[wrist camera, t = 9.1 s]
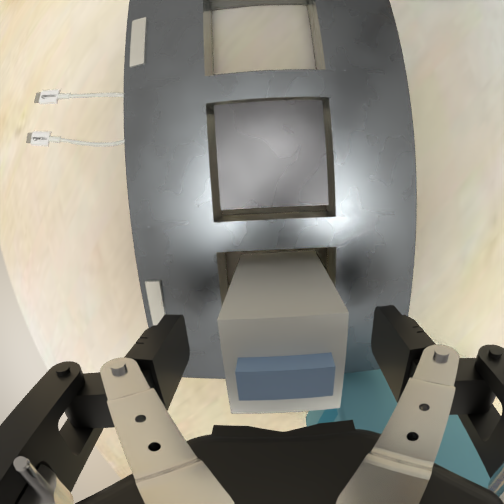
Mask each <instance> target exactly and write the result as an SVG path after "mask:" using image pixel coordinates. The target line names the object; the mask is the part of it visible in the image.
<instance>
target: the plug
mask: <svg viewBox="0 0 504 504" xmlns="http://www.w3.org/2000/svg"><path fill="white" fill-rule="evenodd" d="M348 319H349V312H348V310H347V308H346V306H345V304H344V302H343V301H342V299H341V297H340V295H339V293H338V291H337V290H336V288H335V286H334V284H333V282H332V280H331V279H330V277H329V275H328V273H327V272H326V270H325V268H324V266H323V264H322V263H321V261H320V259H319V257H318V256H317V254H316V252H315V250H302V251H285V252H268V253H250V254H241V257H240V259H239V262H238V265H237V267H236V270H235V273H234V275H233V278H232V281H231V284H230V286H229V289H228V292H227V294H226V297H225V300H224V303H223V305H222V308H221V311H220V313H219V316H218V319H217V322H218V330H219V337H220V344H221V351H222V358H223V365H224V371H225V378H226V384H227V390H228V397H229V403H230V409H231V413H284V412H301V411H313V410H324V409H334V408H340V404H341V397H342V388H343V379H344V370H345V359H346V348H347V334H348Z"/></svg>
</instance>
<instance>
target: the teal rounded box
mask: <svg viewBox="0 0 504 504" xmlns="http://www.w3.org/2000/svg"><path fill="white" fill-rule="evenodd" d="M397 404H398V403H397V402H396V400H395V398H394V395H393V393H392V391H391V389H390V387H389V385H388V383H387V381H386V379H385V377H384V375H383V373H382V371H381V369H377V370H369V371H362V372H353V373H344V379H343V388H342V397H341V404H340V408H334V409H324V410H313V411H309V412H308V414H307V416H306V425H307V426H311V425H315V424H318V423H327V422H337V421H345V420H353V422H354V426H355V429H363V430H369V431H373V432H377V433H380V434H382V432H383V430H384V428H385V427H386V425H387V423H388V421H389V419H390V417H391V415H392V413H393V412H394V410H395V408H396V406H397ZM434 463H436V464H438V465H440V466H442V467H444V468H446V469H447V470H449V471H451V472H453V473H455V474H457V475H460V476H462V477H464V478H466V479H468V480H470V481H472V482H474V483H476V484H478V485H481V486H483V487H485V488H487V489H488V484H489V481H490V477H489V475H488V473H487V471H486V469H485V467H484V465H483V462H482V460H481V458H480V456H479V454H478V452H477V450H476V449H475V447H474V445H473V443H472V441H471V439H470V437H469V435H468V433H467V431H466V430H465V428H464V426H463V424H462V422H461V420H460V419H459V417H458V415H449V417H448V421H447V424H446V428H445V431H444V434H443V438H442V441H441V444H440V447H439V450H438V453H437V456H436V458H435V461H434Z"/></svg>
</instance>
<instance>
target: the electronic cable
mask: <svg viewBox="0 0 504 504" xmlns="http://www.w3.org/2000/svg"><path fill="white" fill-rule="evenodd" d="M60 91H61V89H52V90H43V91H42V92H39V93H36V97H35V101H34V103H39V104H57V103H58V99H69V98H87V97H124V93H90V94H71V93H60ZM49 142H57V143H60V142H66V143H72V144H78V145H86V146H115V145H120V144H124V143H125V141H124V139H123V140H120V141H115V142H86V141H77V140H71V139H65V138H61V137H59V136H51V131H33V133H28V135H27V141H26V143H31V145H33V146H49Z"/></svg>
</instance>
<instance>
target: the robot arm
mask: <svg viewBox="0 0 504 504" xmlns="http://www.w3.org/2000/svg"><path fill="white" fill-rule="evenodd" d="M371 349H372V353H373V355H374V357H375V359H376V361H377V363H378V365H379V367H380V369H381V371H382V373H383V375H384V377H385V379H386V381H387V383H388V385H389V387H390V389H391V391H392V393H393V395H394V398H395V400H396V402H397V403H398V404H397V406H396V408H395V410H394V412H393V413H392V415H391V417H390V419H389V421H388V423H387V425H386V427H385V428H384V430H383V432H382V434H380V433H377V432H373V431H369V430H363V429H355V426H354V422H353V420H345V421H337V422H327V423H318V424H315V425H311V426H307V427H303V428H299V429H295V430H291V431H286V432H280V431H273V430H267V429H261V428H255V427H250V426H223V425H214V427H213V431H212V434H211V435H205V436H200V437H197V438H194V439H191V440H188V441H186V440H185V439H184V437H183V436H182V434H181V433H180V431H179V430H178V428H177V426H176V425H175V423H174V422H173V420H172V418H171V417H170V415H169V413H168V412H167V410H168V408H169V406H170V403H171V401H172V399H173V396H174V394H175V392H176V389H177V387H178V385H179V382H180V380H181V378H182V375H183V373H184V371H185V368H186V366H187V364H188V361H189V357H190V347H189V342H188V336H187V330H186V324H185V319H184V316H183V315H174V314H165V315H164V316H163V318H162V319H161V320H160V322H159V323H158V324H157V325H153V326H152V327H150V328H148V329H147V330H145V331H144V333H143V334H142V335H141V336H140V338H139V339H138V340H137V342H136V344H134V346H133V347H132V348H131V350H130V351H129V352H128V353H127V355H126V356H125V357H124V358H116V359H113V360H110V361H108V362H106V363H105V364H104V365H103V366H102V367H101V369H100V372H99V373H86V374H83V373H82V370H81V368H80V365H79V364H77V363H75V362H70V361H69V362H62V363H59V364H56V365H55V366H53V367H52V368H51V369H50V370H49V371H48V372H47V373H46V374H45V375H44V376H43V377H42V378H41V379H40V380H39V382H38V383H37V384H36V385H35V386H34V387H33V388H32V389H31V390H30V392H29V393H28V394H27V395H26V396H25V397H24V398H23V400H22V401H21V402H20V403H19V404H18V405H17V406H16V408H15V409H14V410H13V411H12V412H11V413H10V415H9V416H8V417H7V418H6V419H5V421H4V422H3V423H2V424H1V426H0V504H73V496H72V494H71V491H72V489H73V487H74V485H75V483H76V481H77V479H78V477H79V475H80V473H81V471H82V469H83V467H84V465H85V463H86V461H87V459H88V457H89V455H90V453H91V451H92V449H93V447H94V446H95V444H96V442H97V440H98V438H99V436H100V434H101V432H102V430H103V428H109V427H115V429H116V432H117V435H118V437H119V440H120V443H121V446H122V448H123V451H124V453H125V456H126V459H127V461H128V464H129V466H130V468H131V471H132V474H131V475H129V476H127V477H125V478H124V479H122V480H120V481H118V482H116V483H115V484H113V485H111V486H109V487H107V488H105V489H103V490H102V491H99V492H98V493H96V494H94V495H92V496H90V497H88V498H86V499H84V500H81V501H79V502H77V503H75V504H504V348H502V347H500V346H497V345H485V346H483V347H481V348H480V349H479V351H478V355H477V358H459V354H458V352H457V351H456V350H455V349H453V348H451V347H449V346H446V345H436V344H435V343H434V342H433V341H432V340H431V338H430V337H429V336H428V335H427V334H426V333H425V332H424V330H423V329H422V328H421V327H419V325H418V324H417V322H416V321H415V320H414V319H412V318H410V317H408V316H406V315H402V314H401V313H400V312H399V311H398V310H397V308H396V307H395V306H394V305H387V306H377V307H376V308H375V311H374V319H373V328H372V336H371ZM496 396H497V398H498V399H499V400H500V402H501V404H502V409H503V410H502V416H500V414H499V413H498V411H497V410H496V408H495V407H494V405H493V404H492V403H493V401H494V399H495V397H496ZM64 412H65V414H66V415H67V417H68V419H67V421H66V422H65V424H64V425H63V427H62V428H61V430H60V431H59V429H58V422H59V419H60V417H61V416H62V414H63V413H64ZM449 415H458V417H459V419H460V420H461V422H462V424H463V426H464V428H465V430H466V431H467V433H468V435H469V437H470V439H471V441H472V443H473V445H474V447H475V449H476V450H477V452H478V454H479V456H480V458H481V460H482V462H483V465H484V467H485V469H486V471H487V473H488V475H489V477H490V481H489V484H488V489H487V488H485V487H483V486H481V485H478V484H476V483H474V482H472V481H470V480H468V479H466V478H464V477H462V476H460V475H457V474H455V473H453V472H451V471H449V470H447V469H446V468H444V467H442V466H440V465H438V464H436V463H434V461H435V458H436V456H437V453H438V450H439V447H440V444H441V441H442V438H443V434H444V431H445V428H446V424H447V421H448V417H449Z"/></svg>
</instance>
